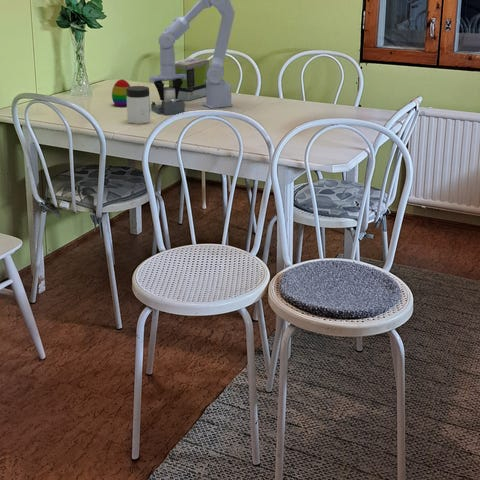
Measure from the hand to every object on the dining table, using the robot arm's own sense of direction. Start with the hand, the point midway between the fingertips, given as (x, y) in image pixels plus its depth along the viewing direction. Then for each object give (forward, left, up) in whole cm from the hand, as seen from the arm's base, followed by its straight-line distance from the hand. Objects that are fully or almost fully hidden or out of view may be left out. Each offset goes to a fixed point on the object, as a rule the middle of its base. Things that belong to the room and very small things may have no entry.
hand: (168, 99), depth 312 cm
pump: (0, 0, -2) cm, 2 cm away
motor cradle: (+4, +10, -2) cm, 11 cm away
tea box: (-14, -11, -3) cm, 18 cm away
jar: (+20, +20, -3) cm, 28 cm away
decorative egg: (+16, -8, -3) cm, 18 cm away
